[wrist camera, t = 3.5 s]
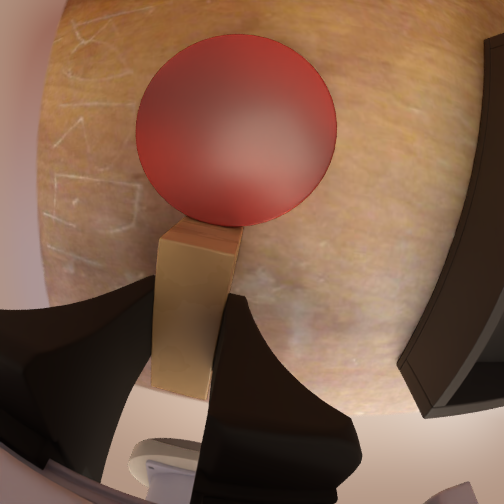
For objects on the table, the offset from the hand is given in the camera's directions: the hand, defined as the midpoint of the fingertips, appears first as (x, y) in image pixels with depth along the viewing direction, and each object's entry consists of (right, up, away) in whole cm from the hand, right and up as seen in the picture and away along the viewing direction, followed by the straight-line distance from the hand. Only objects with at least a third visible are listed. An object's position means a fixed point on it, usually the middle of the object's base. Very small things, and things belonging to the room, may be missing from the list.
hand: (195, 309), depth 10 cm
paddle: (+1, +4, 0) cm, 4 cm away
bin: (+17, +3, 0) cm, 17 cm away
